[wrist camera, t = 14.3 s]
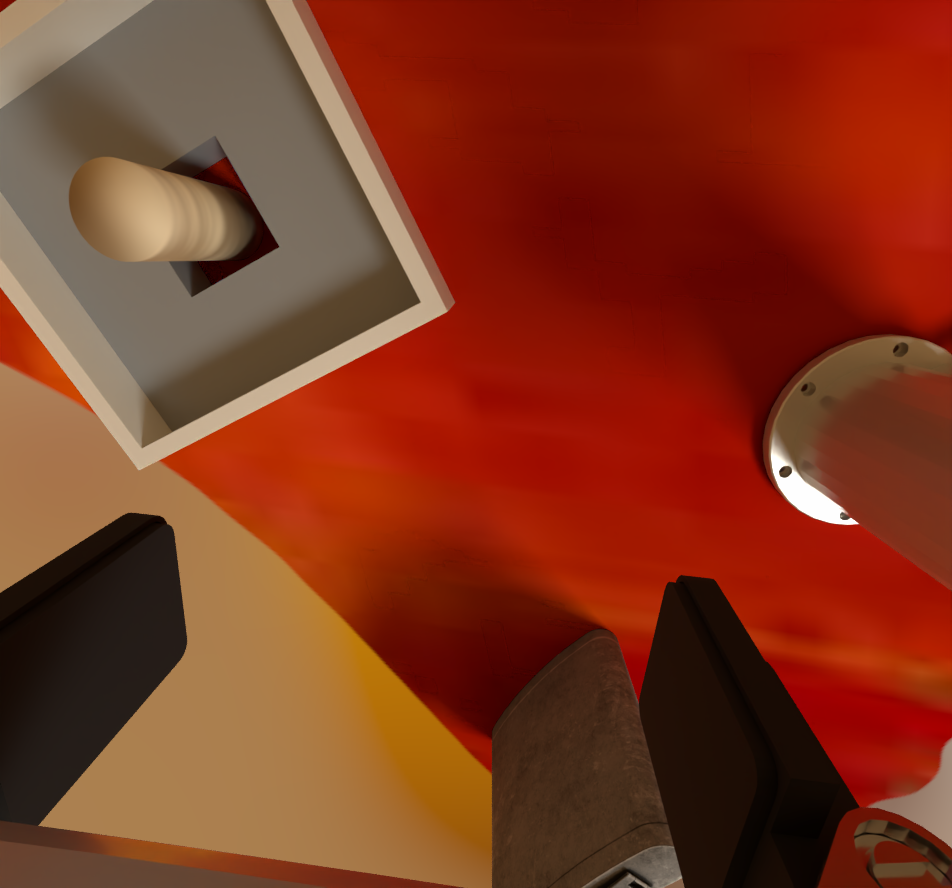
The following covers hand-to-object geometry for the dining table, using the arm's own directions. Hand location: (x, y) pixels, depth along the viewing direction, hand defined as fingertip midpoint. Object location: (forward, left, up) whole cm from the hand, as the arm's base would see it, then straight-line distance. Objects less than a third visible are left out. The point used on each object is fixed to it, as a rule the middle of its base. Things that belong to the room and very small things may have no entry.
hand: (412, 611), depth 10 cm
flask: (+6, +26, -25) cm, 37 cm away
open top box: (+9, -14, -25) cm, 30 cm away
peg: (+9, -14, -25) cm, 30 cm away
